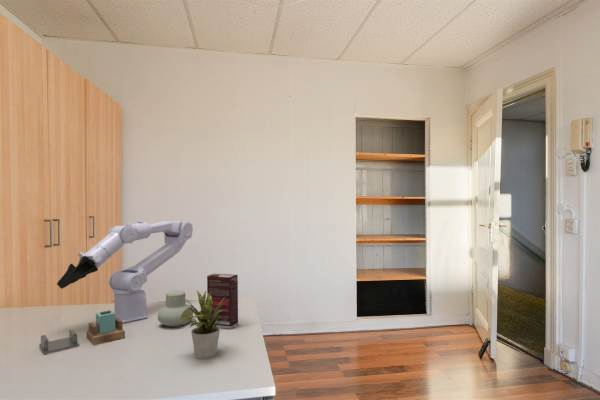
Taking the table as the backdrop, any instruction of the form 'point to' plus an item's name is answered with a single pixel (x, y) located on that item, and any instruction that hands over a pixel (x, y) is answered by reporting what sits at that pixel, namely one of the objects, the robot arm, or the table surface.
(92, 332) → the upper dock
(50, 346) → the lower dock
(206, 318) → the house plant
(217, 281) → the supplement box
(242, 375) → the table surface
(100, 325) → the plug
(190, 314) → the air freshener
